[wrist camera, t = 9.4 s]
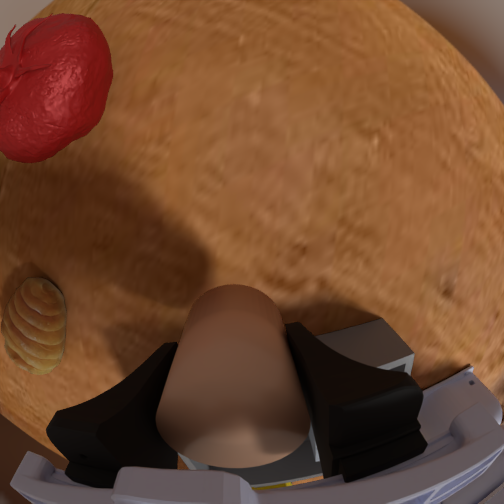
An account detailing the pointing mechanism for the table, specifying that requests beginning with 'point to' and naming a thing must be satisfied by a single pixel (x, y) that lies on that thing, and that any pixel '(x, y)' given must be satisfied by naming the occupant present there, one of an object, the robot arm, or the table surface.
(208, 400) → the tan rounded cylinder
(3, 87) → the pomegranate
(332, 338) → the charcoal tote
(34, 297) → the pastry
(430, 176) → the table surface
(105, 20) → the table surface
